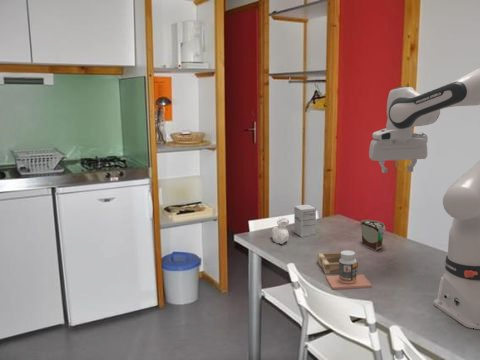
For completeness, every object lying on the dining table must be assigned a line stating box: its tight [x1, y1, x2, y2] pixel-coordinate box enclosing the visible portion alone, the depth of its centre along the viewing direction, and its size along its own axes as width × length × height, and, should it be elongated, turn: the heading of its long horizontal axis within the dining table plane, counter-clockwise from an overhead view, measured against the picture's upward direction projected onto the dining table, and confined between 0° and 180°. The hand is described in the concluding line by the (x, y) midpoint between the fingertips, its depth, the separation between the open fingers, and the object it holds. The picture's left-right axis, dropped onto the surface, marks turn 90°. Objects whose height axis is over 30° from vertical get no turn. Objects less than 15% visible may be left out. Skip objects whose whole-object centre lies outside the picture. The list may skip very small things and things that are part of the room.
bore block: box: [317, 251, 359, 275], centre depth 172 cm, size 12×12×4 cm
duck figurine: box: [270, 217, 290, 245], centre depth 201 cm, size 12×8×11 cm
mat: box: [325, 273, 373, 290], centre depth 158 cm, size 9×13×1 cm
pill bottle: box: [338, 250, 358, 284], centre depth 157 cm, size 6×6×10 cm
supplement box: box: [293, 204, 317, 238], centre depth 209 cm, size 7×7×13 cm
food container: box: [360, 219, 386, 252], centre depth 191 cm, size 12×6×10 cm, turn 22°
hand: (397, 172), depth 168 cm, fingers open, 8 cm apart
